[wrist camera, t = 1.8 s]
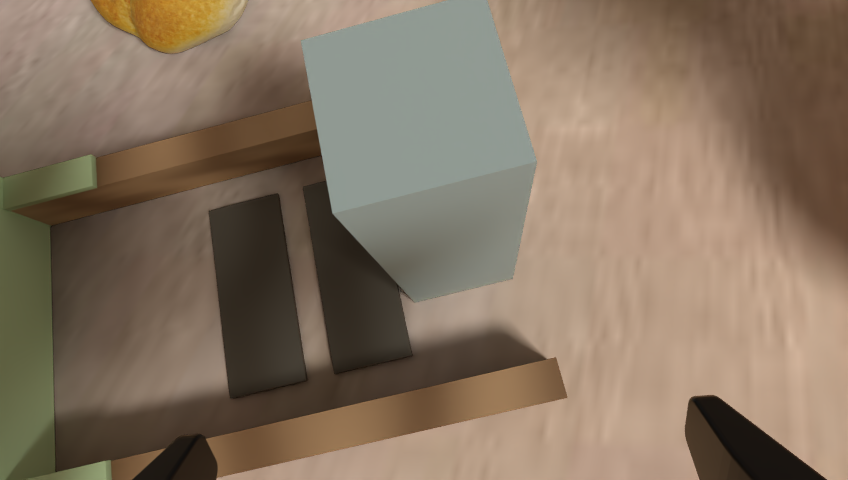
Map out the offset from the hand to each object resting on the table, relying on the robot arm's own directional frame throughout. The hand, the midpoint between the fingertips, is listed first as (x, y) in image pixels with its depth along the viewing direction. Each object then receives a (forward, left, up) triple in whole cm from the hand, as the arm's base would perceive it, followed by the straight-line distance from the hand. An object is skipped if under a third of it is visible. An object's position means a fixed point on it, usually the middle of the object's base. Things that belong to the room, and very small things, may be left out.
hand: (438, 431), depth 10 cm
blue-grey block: (+3, -6, -13) cm, 15 cm away
